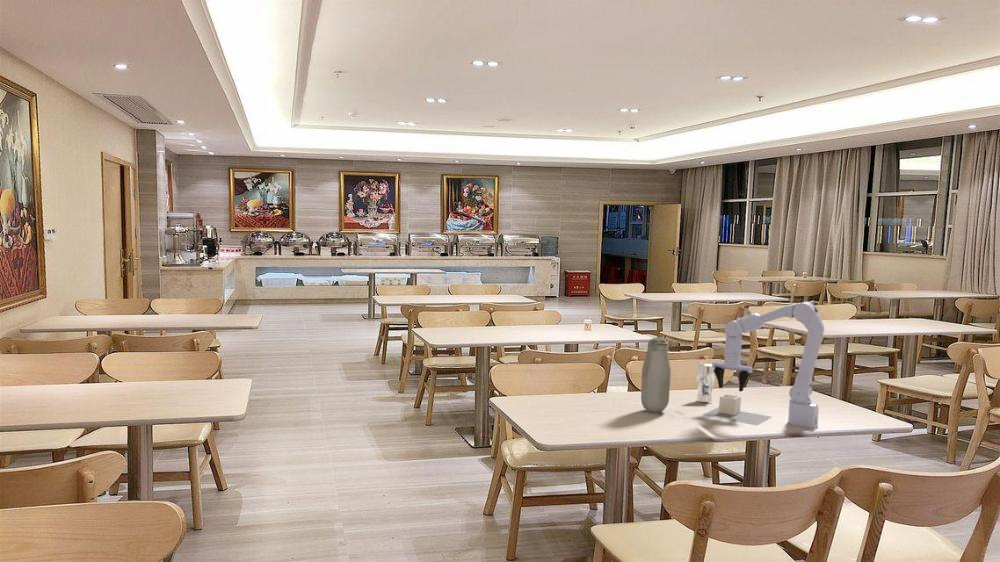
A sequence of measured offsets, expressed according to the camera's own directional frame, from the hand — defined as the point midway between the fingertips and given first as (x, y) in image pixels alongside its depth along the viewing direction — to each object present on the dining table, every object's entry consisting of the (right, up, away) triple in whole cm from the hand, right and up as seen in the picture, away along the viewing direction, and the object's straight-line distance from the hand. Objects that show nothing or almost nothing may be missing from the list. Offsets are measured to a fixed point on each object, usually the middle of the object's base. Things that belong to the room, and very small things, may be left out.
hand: (730, 389), depth 270 cm
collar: (0, -9, +1) cm, 9 cm away
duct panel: (+1, -10, -4) cm, 11 cm away
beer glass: (-4, -8, +22) cm, 24 cm away
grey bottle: (-28, -9, +3) cm, 29 cm away
